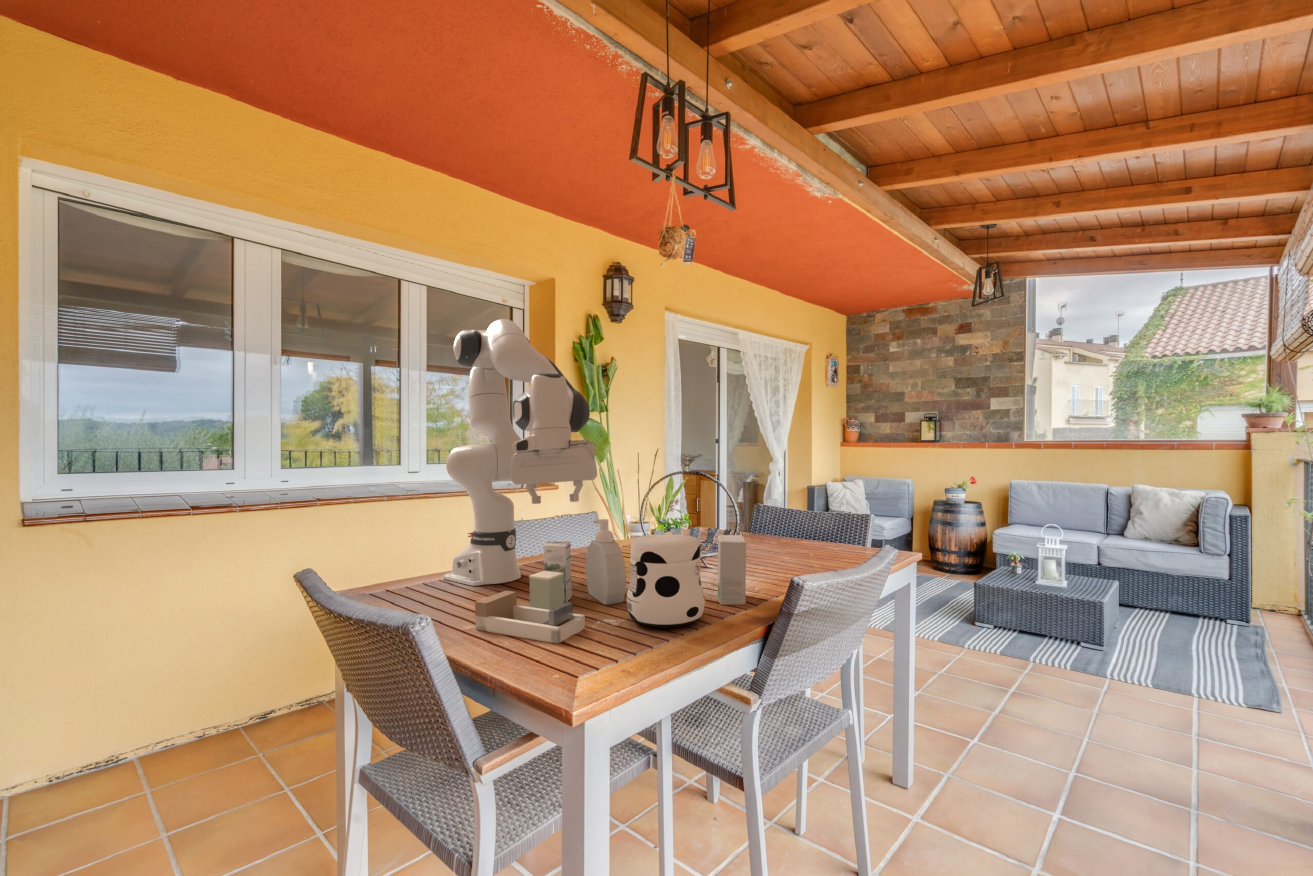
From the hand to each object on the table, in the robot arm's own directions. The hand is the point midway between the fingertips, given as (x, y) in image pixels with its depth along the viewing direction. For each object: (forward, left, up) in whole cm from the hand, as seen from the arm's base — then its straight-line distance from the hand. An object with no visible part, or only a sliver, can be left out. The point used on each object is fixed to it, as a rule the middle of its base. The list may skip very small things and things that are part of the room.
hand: (555, 502), depth 140 cm
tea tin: (-4, +2, -26) cm, 27 cm away
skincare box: (+32, +29, -26) cm, 50 cm away
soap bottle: (+2, +18, -26) cm, 32 cm away
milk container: (+24, +8, -26) cm, 36 cm away
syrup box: (-8, +12, -26) cm, 30 cm away
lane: (0, -9, -26) cm, 28 cm away
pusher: (+6, -9, -26) cm, 28 cm away
